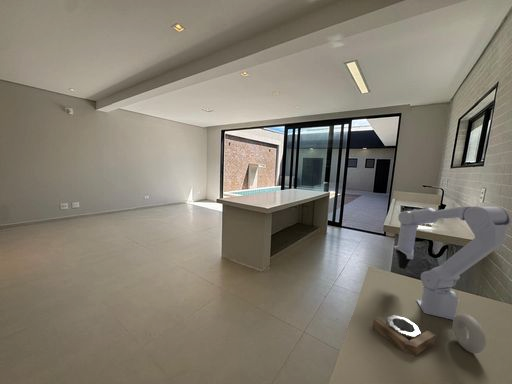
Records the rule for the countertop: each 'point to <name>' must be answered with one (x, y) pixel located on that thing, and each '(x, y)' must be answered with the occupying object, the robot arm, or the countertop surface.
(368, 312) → the countertop surface
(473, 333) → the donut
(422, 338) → the vee stop
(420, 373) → the countertop surface
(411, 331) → the ring
